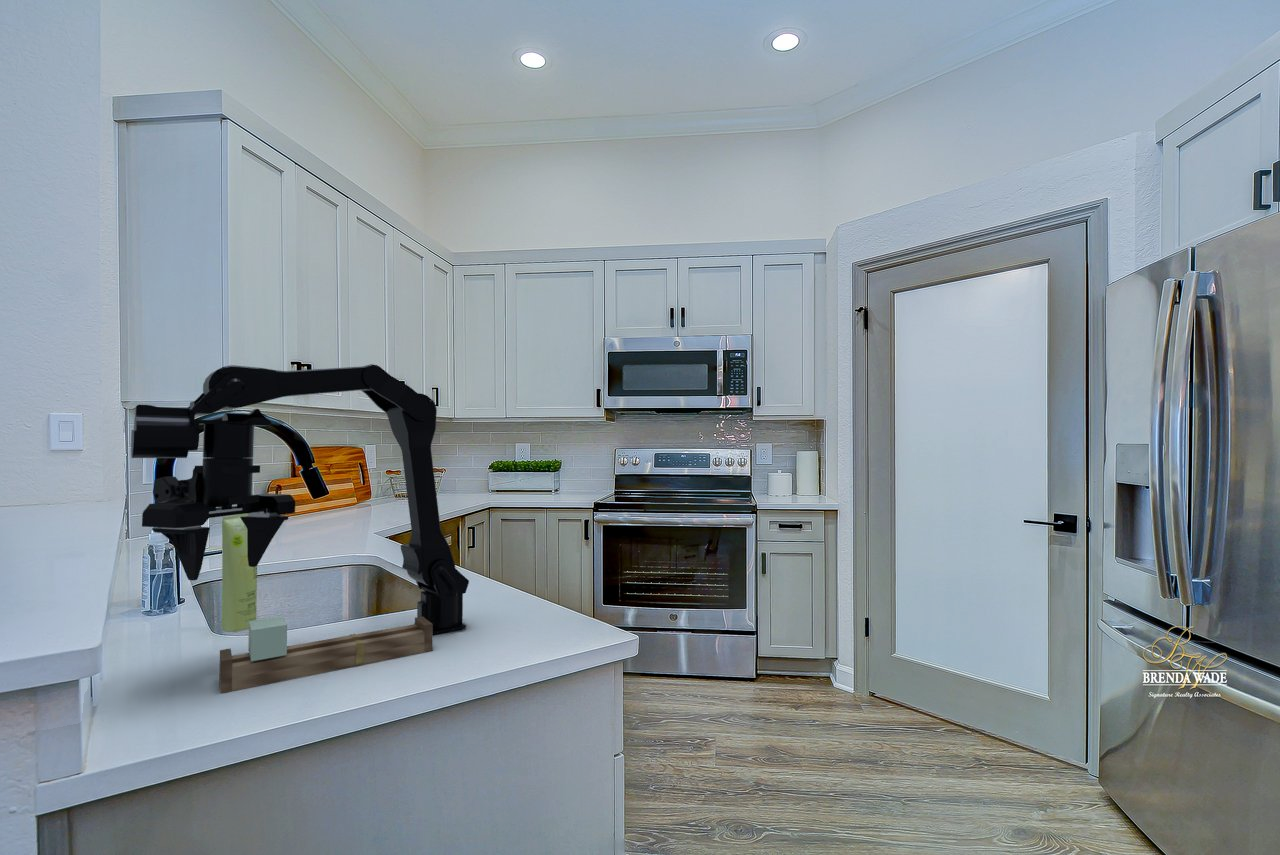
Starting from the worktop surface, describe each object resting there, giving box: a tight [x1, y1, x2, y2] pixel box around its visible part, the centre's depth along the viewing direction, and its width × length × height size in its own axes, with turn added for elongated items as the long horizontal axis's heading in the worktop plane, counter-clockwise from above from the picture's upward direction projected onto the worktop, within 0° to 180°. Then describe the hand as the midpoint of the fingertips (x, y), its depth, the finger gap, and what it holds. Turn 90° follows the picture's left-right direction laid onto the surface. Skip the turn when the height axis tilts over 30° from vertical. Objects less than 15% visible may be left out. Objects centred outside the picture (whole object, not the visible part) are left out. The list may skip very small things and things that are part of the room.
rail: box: [218, 616, 434, 694], centre depth 86 cm, size 26×5×4 cm, turn 126°
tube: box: [221, 513, 258, 633], centre depth 102 cm, size 6×5×20 cm
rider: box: [247, 615, 288, 661], centre depth 81 cm, size 4×5×6 cm
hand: (224, 572), depth 82 cm, fingers open, 9 cm apart
